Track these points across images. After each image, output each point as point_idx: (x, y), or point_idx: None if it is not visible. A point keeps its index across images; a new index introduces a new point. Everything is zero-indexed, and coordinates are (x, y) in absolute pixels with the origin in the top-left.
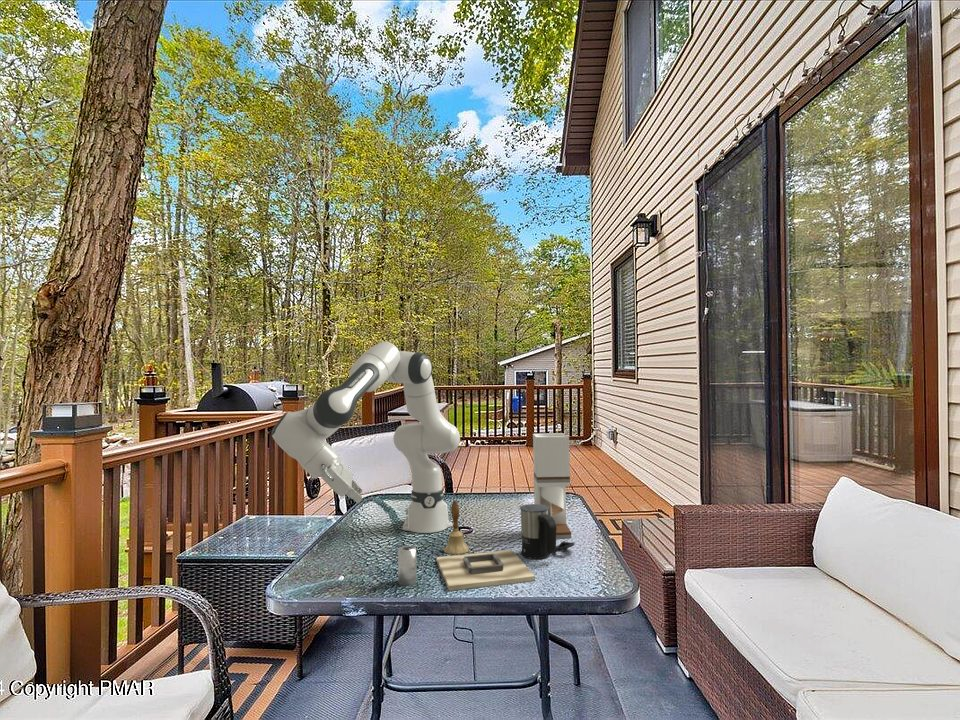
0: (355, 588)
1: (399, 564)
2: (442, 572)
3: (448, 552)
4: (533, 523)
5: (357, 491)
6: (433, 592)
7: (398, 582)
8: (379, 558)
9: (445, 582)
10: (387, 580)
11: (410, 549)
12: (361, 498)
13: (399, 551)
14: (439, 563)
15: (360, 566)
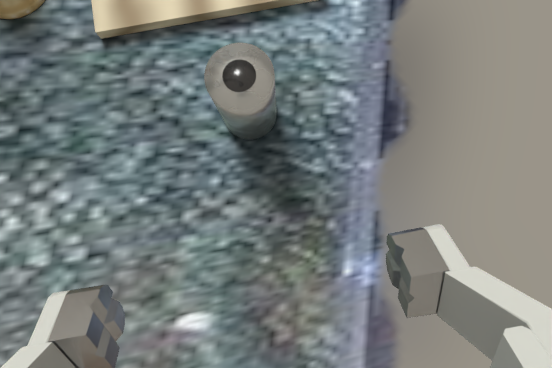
0: (282, 260)
1: (263, 117)
2: (217, 12)
3: (38, 1)
4: None
5: (107, 331)
6: (330, 38)
7: (256, 138)
8: (42, 223)
9: (269, 8)
10: (233, 173)
11: (249, 62)
12: (443, 232)
13: (261, 103)
14: (151, 21)
15: (106, 276)
